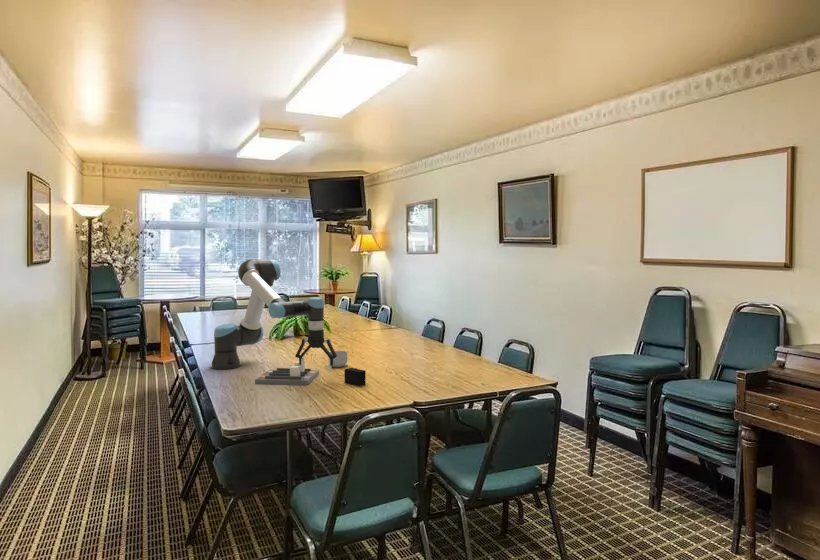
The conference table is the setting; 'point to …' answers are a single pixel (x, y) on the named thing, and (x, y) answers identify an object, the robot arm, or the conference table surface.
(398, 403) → the conference table surface
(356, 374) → the digital camera
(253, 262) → the robot arm
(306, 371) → the switch base
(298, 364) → the slider far
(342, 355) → the teacup
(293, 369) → the slider near
